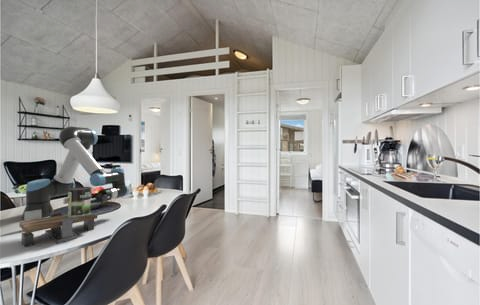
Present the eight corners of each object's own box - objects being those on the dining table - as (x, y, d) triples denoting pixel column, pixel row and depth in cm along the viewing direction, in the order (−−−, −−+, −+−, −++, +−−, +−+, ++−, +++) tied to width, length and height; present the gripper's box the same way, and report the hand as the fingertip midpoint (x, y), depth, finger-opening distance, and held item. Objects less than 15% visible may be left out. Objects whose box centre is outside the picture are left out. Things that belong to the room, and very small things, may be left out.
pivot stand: (18, 239, 106) (18, 219, 106) (84, 224, 129) (85, 207, 129) (28, 251, 95) (28, 228, 94) (99, 232, 117) (99, 213, 117)
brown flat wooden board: (19, 226, 105) (19, 221, 105) (86, 213, 127) (86, 209, 127) (26, 233, 96) (27, 228, 96) (97, 218, 119) (97, 214, 119)
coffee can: (95, 212, 122) (96, 187, 122) (78, 217, 112) (78, 190, 112) (80, 211, 124) (80, 186, 124) (62, 216, 114) (62, 189, 114)
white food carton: (41, 228, 122) (41, 210, 122) (24, 231, 117) (24, 212, 117) (40, 226, 125) (40, 208, 124) (24, 229, 120) (24, 211, 119)
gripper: (124, 201, 133) (93, 211, 112) (91, 199, 139) (55, 207, 118) (124, 189, 133) (93, 196, 112) (91, 187, 139) (55, 193, 118)
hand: (73, 202), depth 115 cm, fingers open, 13 cm apart
